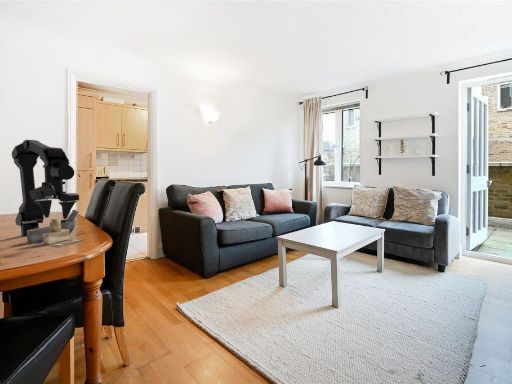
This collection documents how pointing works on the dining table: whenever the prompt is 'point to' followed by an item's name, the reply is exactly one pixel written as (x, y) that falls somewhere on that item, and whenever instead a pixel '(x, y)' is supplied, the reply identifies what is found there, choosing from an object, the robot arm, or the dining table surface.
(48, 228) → the base
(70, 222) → the mortar and pestle
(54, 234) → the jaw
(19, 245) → the dining table surface
